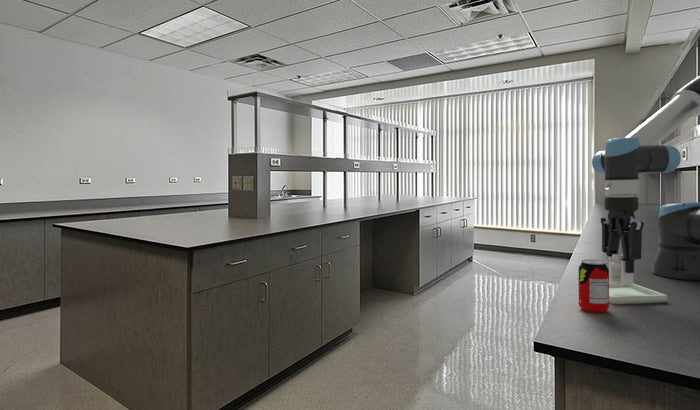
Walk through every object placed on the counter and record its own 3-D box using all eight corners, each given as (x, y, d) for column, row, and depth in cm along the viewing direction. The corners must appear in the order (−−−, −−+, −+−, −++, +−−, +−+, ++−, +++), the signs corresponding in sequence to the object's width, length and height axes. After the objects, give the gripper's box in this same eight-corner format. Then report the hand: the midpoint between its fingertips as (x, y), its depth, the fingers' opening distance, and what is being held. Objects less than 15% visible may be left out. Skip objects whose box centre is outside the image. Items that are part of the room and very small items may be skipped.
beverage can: (606, 307, 99) (607, 259, 98) (610, 315, 93) (610, 264, 92) (577, 304, 102) (577, 258, 101) (579, 312, 96) (579, 263, 95)
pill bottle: (632, 285, 105) (632, 256, 105) (613, 284, 106) (614, 256, 106) (624, 281, 110) (625, 253, 109) (606, 280, 111) (607, 253, 110)
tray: (627, 287, 115) (627, 281, 115) (666, 302, 101) (667, 295, 101) (579, 289, 115) (579, 283, 115) (612, 304, 101) (612, 297, 101)
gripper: (587, 195, 115) (586, 275, 117) (630, 197, 98) (629, 291, 99) (613, 194, 115) (612, 274, 117) (660, 196, 98) (659, 290, 99)
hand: (620, 281), depth 108 cm, fingers closed on pill bottle, 4 cm apart
